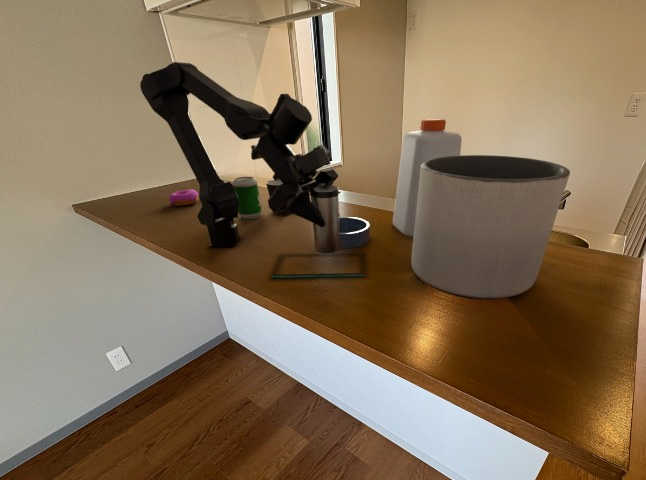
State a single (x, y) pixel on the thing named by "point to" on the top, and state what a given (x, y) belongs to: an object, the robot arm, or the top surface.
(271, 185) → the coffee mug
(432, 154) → the plastic bottle
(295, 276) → the mat
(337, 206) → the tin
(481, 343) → the top surface
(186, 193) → the donut
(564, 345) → the top surface
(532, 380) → the top surface
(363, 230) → the blue bowl
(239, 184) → the soda can
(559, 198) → the planter
